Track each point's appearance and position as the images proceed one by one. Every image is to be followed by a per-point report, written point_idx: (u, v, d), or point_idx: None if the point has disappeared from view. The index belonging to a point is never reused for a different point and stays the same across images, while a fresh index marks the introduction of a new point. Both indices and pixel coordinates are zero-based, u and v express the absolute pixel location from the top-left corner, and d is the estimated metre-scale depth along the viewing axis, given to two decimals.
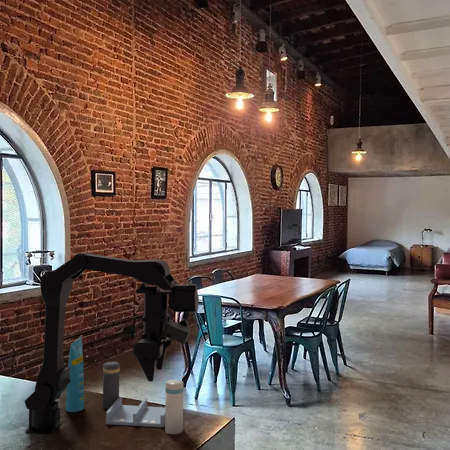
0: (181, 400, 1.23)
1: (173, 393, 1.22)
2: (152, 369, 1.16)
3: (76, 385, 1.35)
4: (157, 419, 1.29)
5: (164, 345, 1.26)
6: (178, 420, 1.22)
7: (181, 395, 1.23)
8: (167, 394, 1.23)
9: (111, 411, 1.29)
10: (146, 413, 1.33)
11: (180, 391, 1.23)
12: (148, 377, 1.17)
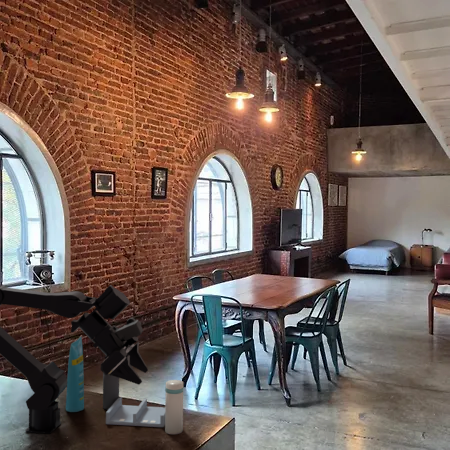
0: (181, 400, 1.23)
1: (173, 393, 1.22)
2: (133, 373, 1.19)
3: (76, 385, 1.35)
4: (157, 419, 1.29)
5: (134, 351, 1.29)
6: (178, 420, 1.22)
7: (181, 395, 1.23)
8: (167, 394, 1.23)
9: (111, 411, 1.29)
10: (146, 413, 1.33)
11: (180, 391, 1.23)
12: (136, 381, 1.19)
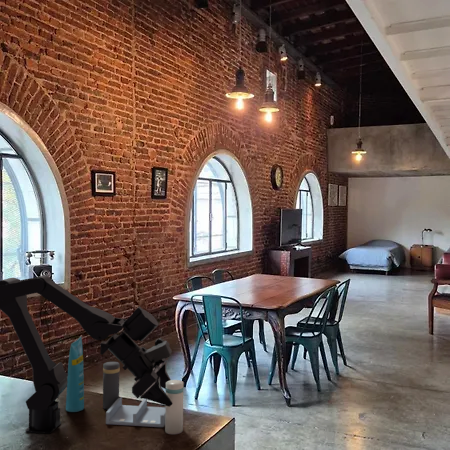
0: (181, 400, 1.23)
1: (173, 393, 1.22)
2: (164, 395, 1.19)
3: (76, 385, 1.35)
4: (157, 419, 1.29)
5: (162, 371, 1.29)
6: (178, 420, 1.22)
7: (181, 395, 1.23)
8: (167, 394, 1.23)
9: (111, 411, 1.29)
10: (146, 413, 1.33)
11: (180, 391, 1.23)
12: (166, 403, 1.19)
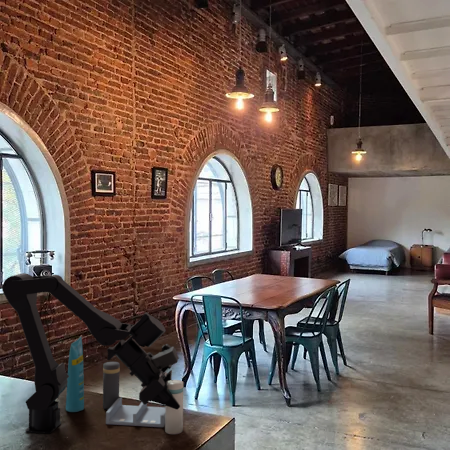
0: (181, 400, 1.23)
1: (173, 393, 1.22)
2: (171, 398, 1.21)
3: (76, 385, 1.35)
4: (157, 419, 1.29)
5: (167, 380, 1.27)
6: (178, 420, 1.22)
7: (181, 395, 1.23)
8: None
9: (111, 411, 1.29)
10: (146, 413, 1.33)
11: (180, 391, 1.23)
12: (174, 406, 1.21)
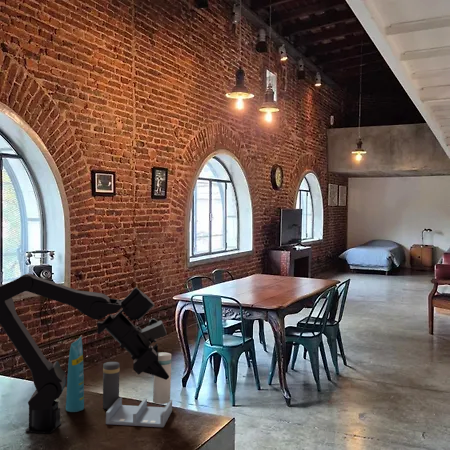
0: (170, 371, 1.28)
1: (163, 364, 1.27)
2: (161, 369, 1.26)
3: (76, 385, 1.35)
4: (157, 419, 1.29)
5: None
6: (167, 390, 1.27)
7: (170, 366, 1.28)
8: None
9: (111, 411, 1.29)
10: (146, 413, 1.33)
11: (169, 362, 1.28)
12: (163, 377, 1.26)
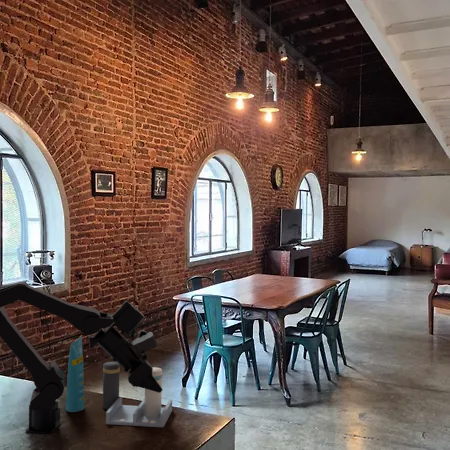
0: (161, 385, 1.31)
1: None
2: (155, 382, 1.26)
3: (76, 385, 1.35)
4: (157, 419, 1.29)
5: None
6: (158, 404, 1.30)
7: (161, 381, 1.31)
8: None
9: (111, 411, 1.29)
10: None
11: (160, 377, 1.31)
12: (157, 390, 1.27)
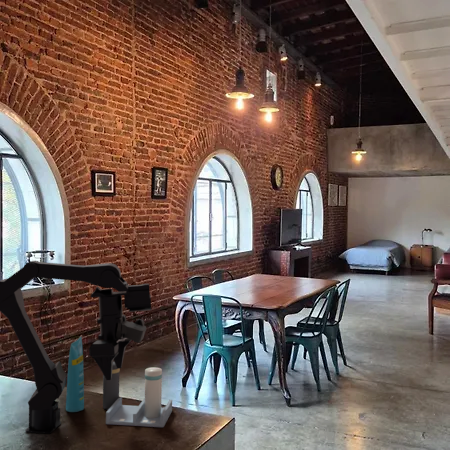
0: (161, 385, 1.31)
1: (154, 379, 1.29)
2: (109, 368, 1.21)
3: (76, 385, 1.35)
4: (157, 419, 1.29)
5: (122, 345, 1.32)
6: (158, 404, 1.30)
7: (161, 381, 1.31)
8: (148, 381, 1.30)
9: (111, 411, 1.29)
10: None
11: (160, 377, 1.31)
12: (106, 376, 1.22)
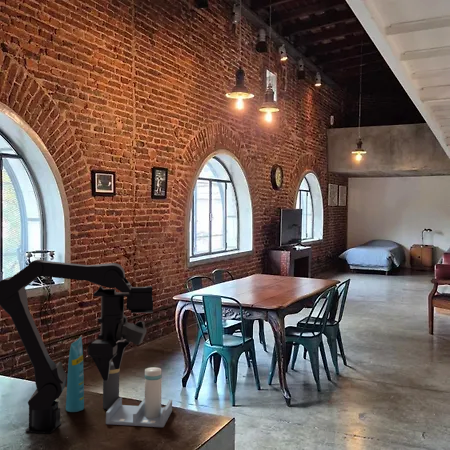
0: (160, 385, 1.31)
1: (154, 379, 1.30)
2: (107, 369, 1.21)
3: (76, 385, 1.35)
4: (157, 419, 1.29)
5: (122, 345, 1.32)
6: (158, 404, 1.30)
7: (160, 380, 1.31)
8: (148, 381, 1.30)
9: (111, 411, 1.29)
10: None
11: (160, 377, 1.31)
12: (103, 376, 1.22)
